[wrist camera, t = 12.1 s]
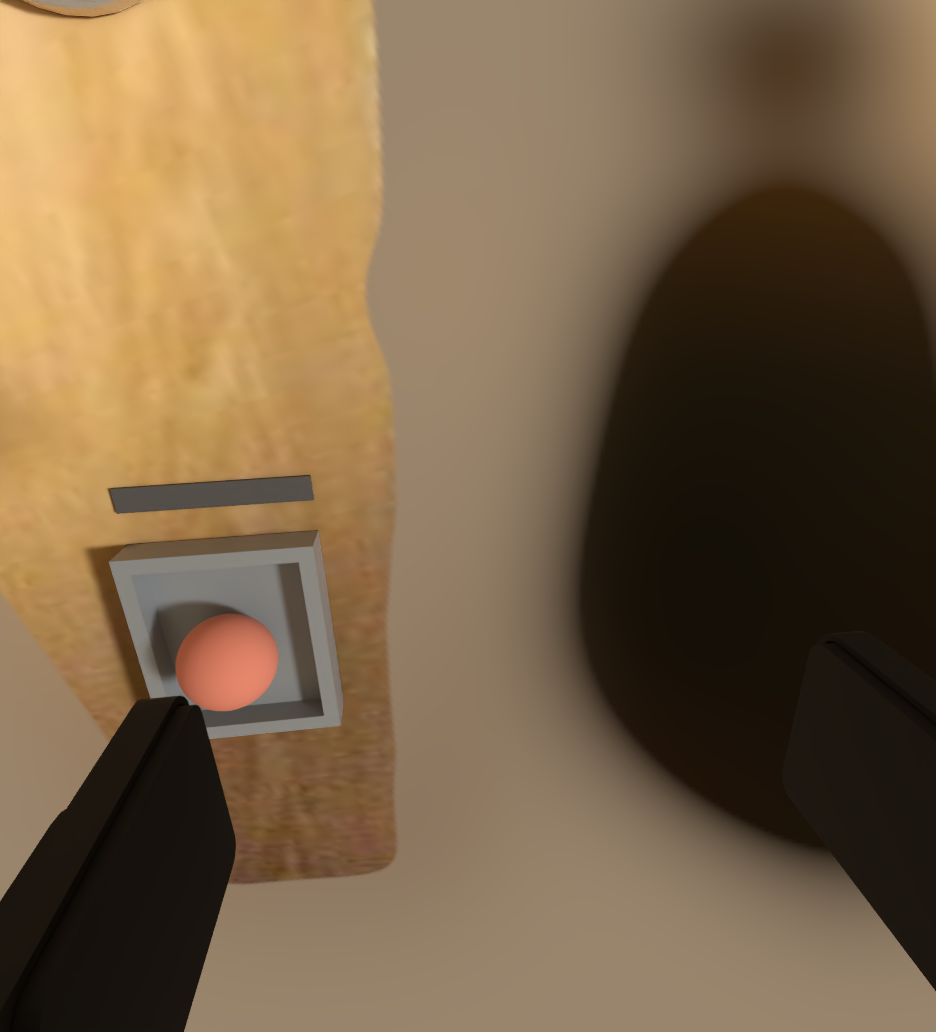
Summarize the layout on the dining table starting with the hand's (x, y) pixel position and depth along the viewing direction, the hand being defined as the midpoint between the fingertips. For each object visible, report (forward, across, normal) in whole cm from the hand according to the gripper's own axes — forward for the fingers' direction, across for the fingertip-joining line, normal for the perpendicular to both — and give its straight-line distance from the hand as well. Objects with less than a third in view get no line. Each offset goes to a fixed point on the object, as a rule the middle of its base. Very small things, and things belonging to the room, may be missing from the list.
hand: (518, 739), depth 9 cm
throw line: (+28, +14, +5) cm, 32 cm away
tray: (+28, +14, +15) cm, 35 cm away
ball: (+25, +14, +15) cm, 32 cm away
